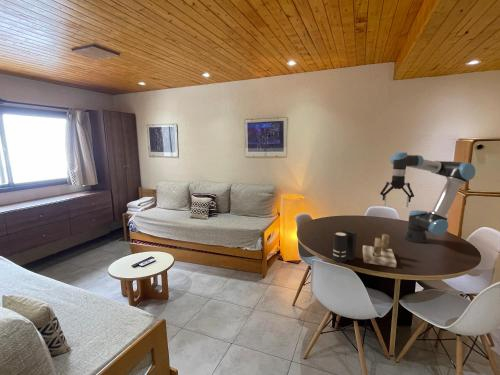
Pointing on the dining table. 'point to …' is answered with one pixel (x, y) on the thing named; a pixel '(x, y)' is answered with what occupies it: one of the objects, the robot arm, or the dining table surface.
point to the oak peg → (377, 247)
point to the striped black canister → (344, 246)
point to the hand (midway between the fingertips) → (395, 205)
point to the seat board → (385, 255)
